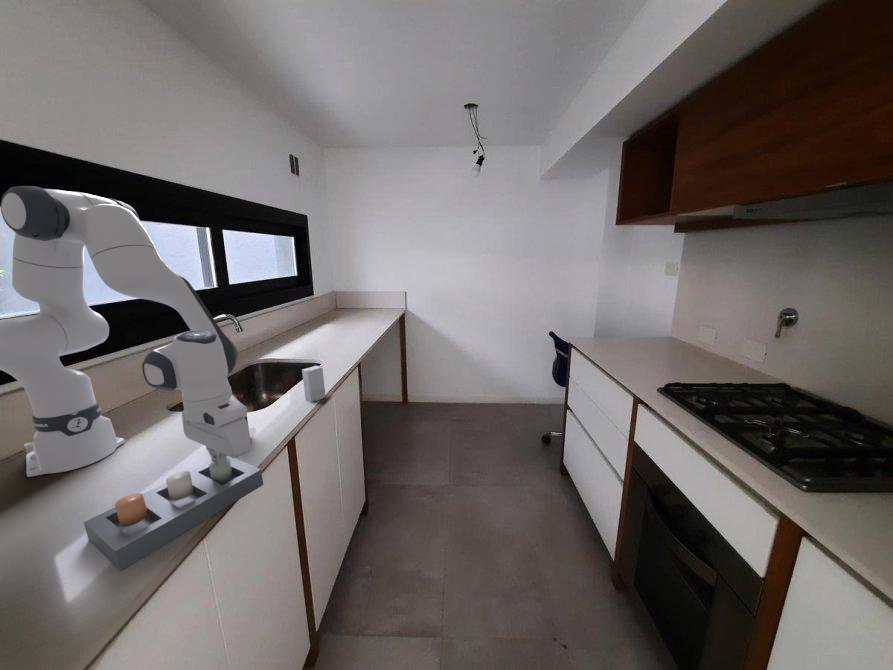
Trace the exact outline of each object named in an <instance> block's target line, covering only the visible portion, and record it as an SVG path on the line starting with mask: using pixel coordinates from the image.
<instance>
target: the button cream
mask: <svg viewBox="0 0 893 670" xmlns="http://www.w3.org/2000/svg"><path fill="white" fill-rule="evenodd" d="M165 483H166V484H167V488H168V493H169V497H170V500H180V499H183V498H186V497H188V496H189V495H191V494H192V493H193V491H194V490H193V485H192V480H191V475H190V470H189V471H188V470H182V471H181V470H180V471H178V472H175V473H172V474H170V475H169V476H168V477H167V478H166V479H165Z"/></svg>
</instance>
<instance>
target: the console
mask: <svg viewBox="0 0 893 670" xmlns="http://www.w3.org/2000/svg"><path fill="white" fill-rule="evenodd" d="M227 458H228V459H230V463H231V469H232V475H233V477H232V479H231V480H229V481H228V482H225V483H223V484H219V483H217V482H215V481H213V480H212V479H211V474H210V469H209V465H210V464H211V463H212V460H211V461H209V462H206V463H205V464H203V465H200V466H199V467H197V468H194V469H192V470H189V472H190V475H191V480H192V485H193V490H194V491H193V493H192V494H191V495H189V496H188V497H186V498H183V499H180V500H170V497H169V493H168V488H167V484H166V482H165V483H163V484H159V485H158V486H157V487H154V488H152V489H149V490H148V491H145V492H144V493H142V494H143V496H144V500H145V504H146V508H147V512H148V515H147V517H146V518H145V519H143V520H142V521H140V522H139V523H137V524H134V525H131V526H127V527H122V526H120V524H119V520H118V516H117V512H116V508H115V506H114V507H113V508H110V509H108V510H107V511H104V512H102V513H100V514H98V515H95V516H93V517H91V518H90V519H87V520H85V521H84V522H83V525H84V530H85V532H86V536H87V539H88V542H89V543H91V544H92V545H93V546H94V547H95V548H96V549H97V550H98V551H99V552H100V553H101V554H102V555H103V556H104V557H105V558H106V559H108V561H109V562H110V563H111V564H113V565H114V566H115V568H117V569H118V570H119V571H120V572H121V571H123V570H125V569H127V568H129V567H130V566H132V565H133V564H135V563H137V562H138V561H140V560H142V559H143V558H145V557H147V556H149V555H150V554H151V553H153V552H155V551H156V550H158V549H160V548H162V547H163V546H165V545H167V544H168V543H169V542H171V541H173V540H174V539H176V538H178V537H180V536H181V535H183V534H185V533H186V532H188V531H189V530H191V529H192V528H194V527H196V526H198V525H200V524H201V523H203V522H204V521H206V520H208V519H209V518H211V517H212V516H214V515H216V514H218V513H219V512H221V511H222V510H224V509H226V508H228V507H230V506H231V505H233V504H234V503H236V502H237V501H239V500H241V499H242V498H244V497H246V496H247V495H250V494H251V493H252V492H254V491H256V490H258V489H259V488H261V487H262V486H263V485H264V481H263V474H262V473H263V472H262V469H261V468H258V467H256V466H254V465H252V464H250V463H247V462H245V461H243V460H241V459H238V458H237V457H236V458H232V457H230V456H227Z"/></svg>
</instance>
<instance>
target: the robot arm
mask: <svg viewBox="0 0 893 670" xmlns="http://www.w3.org/2000/svg"><path fill="white" fill-rule="evenodd" d="M0 211H1V215H2V218H3V221H4V223H5V224H6V225H7V226H8V227H9V228H10V229H11V231H13V232H14V233H15V234H14V239H13V240H14V241H13V247H12V273H11V274H12V279H11V280H12V282H11V284H12V288H13V289H14V291H15V292H16V293H17V294H18V295H20V296H21V297H23V298H24V299H27V300H29V301H31V302H34V303H38V306H39V311H38V314H37V313H36V314H33V315H27V316H26V315H23V316H18V317H9V318H3V319H0V371H3V372H4V373H6V374H8V375H10V376H12V377H13V378H14V379H15V380H16V381H18V382H19V384H20V385H21V386H22V388H23V389H24V392H26V395H27V398H28V400H29V403H30V406H31V409H32V412H33V415H32V425H33V427H34V429H35V432H34V435H33V437H32V438H33V439H32V442H26V443H24V444H23V445H24V449H25V452H26V453H27V454H26V456H25V457H26V460H25V461H26V462H25V463H26V477H27V478H29V477H30V478H31V477H36V476H41V475H47V474H48V475H49V474H57V473H58V474H59V473H64V472H69V471H72V470H76V469H79V468H82V467H86V466H89V465H92V464H94V463H96V462H98V461H100V460H102V459H104V458H107V457H108V456H110V455H112V453H114V452H115V450H116V449H117V448H119V447H120V446H122V445H123V444H125V442H126V441H125V438H122V437H117V436H116V433H115V429H114V426H113V424H112V421H111V418H109V417H106V416H103V415H102V410H101V405H100V404H99V402H98V400H96V397H95V393H94V389H93V386H92V381H91V378H90V376H89V375H88V374H86V373H85V372H83V371H81V370H77V369H71V368H66V367H65V366H64V365H63V363H62V361H61V359H60V357H62V356H65V355H70V354H74V353H79V352H83V351H86V350H89V349H92V348H93V347H96V346H98V345H100V344H103V343H104V342H105V341H106V340H107V339H108V337H109V335H110V334H109V333H110V326H109V323H108V321H107V320H106V319H105V317H103V316H102V315H101V314H100V313H98V312H96V311H94V310H93V309H92V308H91V307H90V305H88V303H87V301H86V297H85V295H84V265H85V264H84V262H85V259H84V258H85V256H84V255H85V252H84V250H85V247H86V250H87V252H88V255H89V258H90V259H91V262H92V263H93V267H94V269H95V271H96V273H97V274H98V276H99V278H100V279H101V281H103V283H104V284H105V285H106V286H107V287H108V288H109V289H111V290H114V291H115V292H116V293H119V294H122V295H124V296H128V297H131V298H136V299H141V300H147V301H152V302H157V303H160V304H164V305H166V306H168V307H171V308H173V309H174V310H176V311H177V313H179V315H180V316H181V317H182V320H183V321H184V322H185V324H186V325H187V327H188V329H189V330H190V331H184V332H181V333H179V334H178V335H176V336H175V337H173V340H172V342H170V343H168V344H167V345H164V346H161V347H158V348H156V349H153V350H150V351H149V352H148V353H147V354H146V356H145V357H144V358H143V361H142V364H141V367H142V368H141V369H142V375H143V377H144V380H145V382H146V383H147V385H148V386H150V387H151V388H154V389H156V390H158V391H162V392H169V391H170V392H171V391H175V390H179V391H181V394H182V395H181V400H182V405H183V410H182V411H181V419H182V429H183V432H184V435H185V437H186V438H187V439H189V440H191V441H194V442H195V443H198V444H200V445H203V446H205V448H206V451H207V452H208V453H209V456H210V457H211V461H212V462H213V463H215V464H217V465H219V466H222V465H224V464H226V463H227V456H230V457H232V458H236V459H237V458H238V457H240V456H243V455H244V454H246V453H248V452H249V450H250V448H251V435H249V433H250V428H248V427H249V423H248V424H247V421H248V420H247V421H246V419H245V418H244V416H246V415H247V416H248V409H247V406H246V405H244V404H243V403H242V402H240V400H238V399H237V397H236V396H235V395H234V394H233V392H232V386H231V385H230V382H229V380H228V375H230V374H231V373H232V372H233V370H234V368H235V367H236V365H237V363H238V359H239V353H238V349H237V347H236V346H235V343H233V342H232V341H231V340H230V338H229V337H228V336H227V335H226V334H225V333H224V332H223V330H222V328H220V326H219V324H218V323H217V322H216V320H215V319H214V316H212V313H210V311H209V309H208V308H207V306H206V305H205V303H204V301H203V300H202V299H201V297H200V296H199V294H198V293H197V292H196V290H195V288H194V287H193V286H192V284H191V283H190V281H188V279H186V278H185V277H184V276H181V275H179V274H178V273H176V272H175V271H173V269H171V268H170V266H168V265H167V264H166V263H165V261H164V260H163V259H162V258H161V256H160V254H159V252H158V250H157V249H156V246H155V244H154V243H153V241H152V239H151V237H150V235H149V233H148V232H147V229H146V228H144V226H143V224H142V223H141V219H140V217H139V215H138V213H137V211H136V210H135V208H133V207H132V206H131V205H129V204H127V203H125V202H123V201H120V200H117V199H114V198H106V197H102V196H98V195H96V194H95V195H93V194H89V193H85V192H80V191H67V190H60V189H52V188H51V189H50V188H42V187H40V186H33V185H30V186H29V185H22V186H21V185H18V186H17V185H16V186H12V187H10V188H9V189H8V190H7V191H5V192H4V193H3V194H2V196H1V201H0Z"/></svg>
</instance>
